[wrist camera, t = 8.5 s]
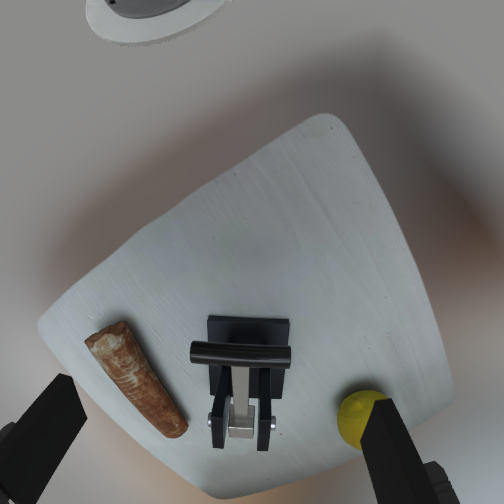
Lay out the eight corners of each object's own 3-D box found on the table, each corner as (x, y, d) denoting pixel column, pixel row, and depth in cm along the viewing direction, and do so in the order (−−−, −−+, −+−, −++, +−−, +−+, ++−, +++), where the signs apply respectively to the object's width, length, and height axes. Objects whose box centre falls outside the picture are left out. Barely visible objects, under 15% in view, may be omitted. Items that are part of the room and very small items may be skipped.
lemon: (323, 389, 36) (334, 432, 28) (378, 365, 35) (399, 404, 27) (344, 434, 38) (354, 473, 30) (391, 413, 37) (408, 450, 29)
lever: (194, 330, 18) (187, 360, 16) (290, 335, 18) (292, 366, 16) (211, 414, 26) (208, 435, 24) (273, 417, 26) (273, 439, 24)
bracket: (208, 315, 34) (182, 385, 21) (288, 319, 33) (301, 391, 21) (211, 389, 36) (194, 464, 24) (281, 393, 36) (286, 469, 23)
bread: (130, 311, 34) (110, 332, 28) (197, 422, 38) (190, 449, 32) (93, 322, 34) (72, 343, 29) (161, 427, 38) (151, 453, 33)
